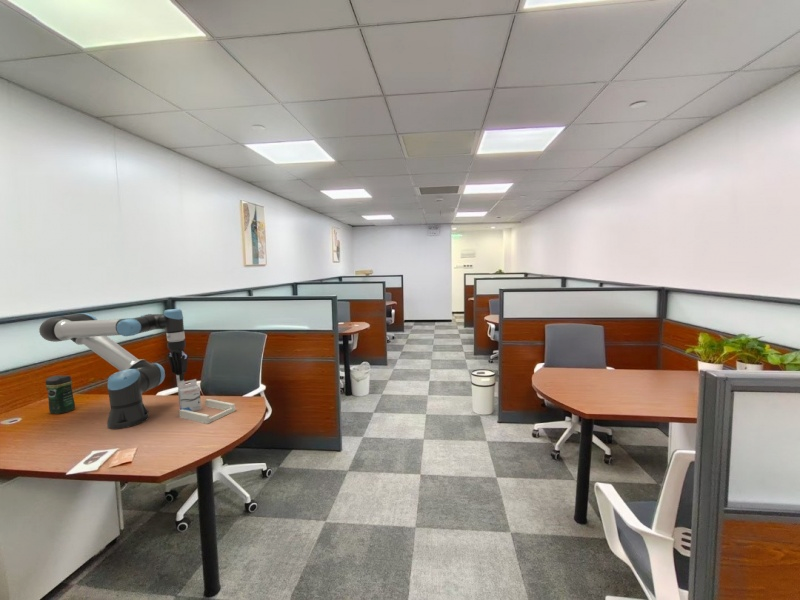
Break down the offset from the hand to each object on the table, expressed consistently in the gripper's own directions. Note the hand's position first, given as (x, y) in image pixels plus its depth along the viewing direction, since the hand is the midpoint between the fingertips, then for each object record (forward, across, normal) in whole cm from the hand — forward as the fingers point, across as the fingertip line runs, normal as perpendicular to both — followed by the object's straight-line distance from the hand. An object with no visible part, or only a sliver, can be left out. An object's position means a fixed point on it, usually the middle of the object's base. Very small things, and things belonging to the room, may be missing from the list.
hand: (181, 386), depth 171 cm
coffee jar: (+11, -58, -24) cm, 64 cm away
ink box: (+12, +6, 0) cm, 13 cm away
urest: (+12, +18, 0) cm, 21 cm away
